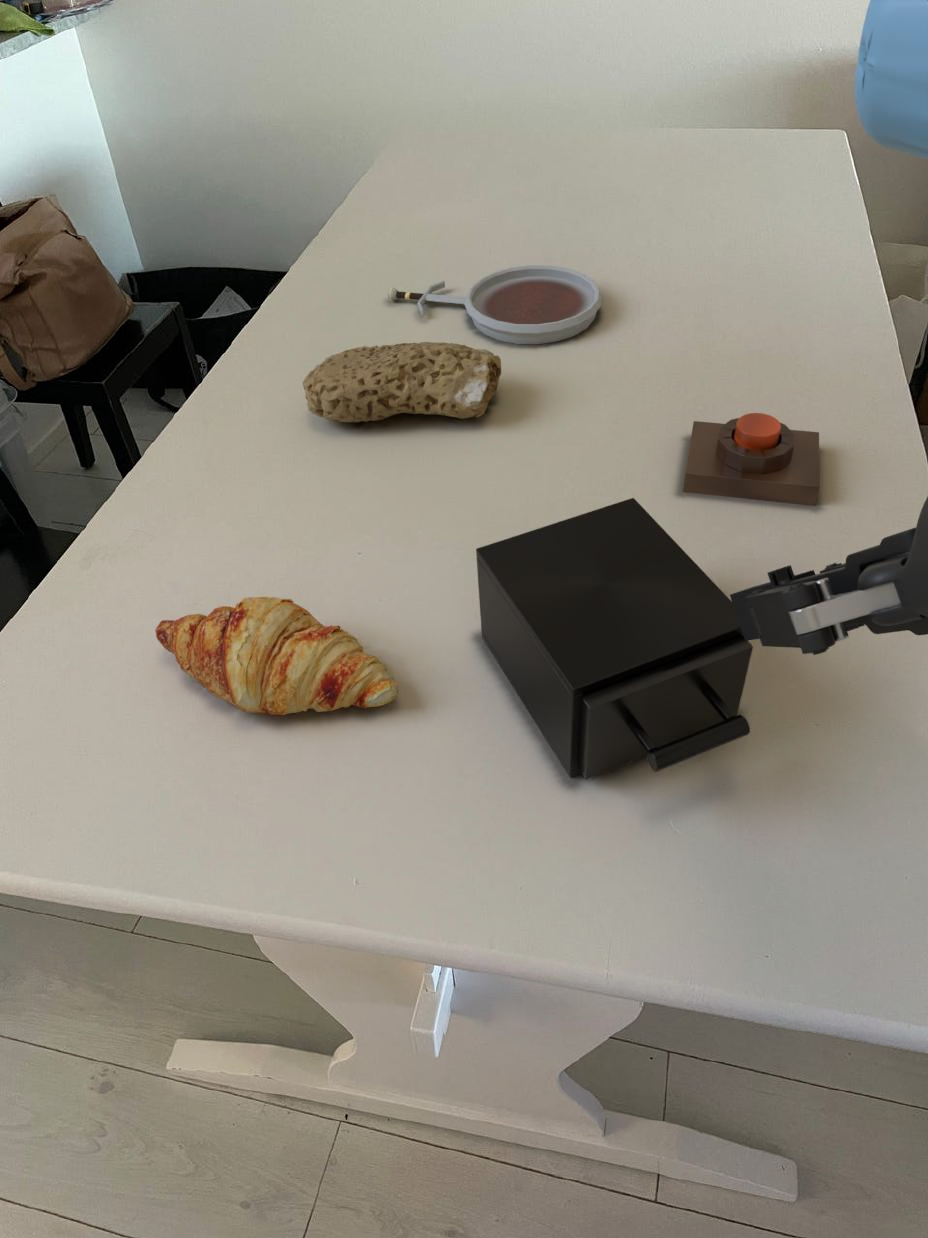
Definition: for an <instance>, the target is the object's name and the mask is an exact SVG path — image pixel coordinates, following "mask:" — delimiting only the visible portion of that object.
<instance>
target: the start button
mask: <svg viewBox="0 0 928 1238" xmlns="http://www.w3.org/2000/svg"><path fill="white" fill-rule="evenodd" d="M738 418H739V419H738V421H737V424H736V430H735V435H734V440H735V443H736V444H737V445H739V446H742V447H744V448H746V449H749V450H759V451H763V450H768V449H773V448H774V447H775V446H776V445H777V443H778V439H779V434H780V430H781V424H780V423H781V422H780V421H779V419H777V418H776V417H774V416H773V415H770V414H766V413H763V412H762V413H761V412H751V413H746V414H743V415H741V416H740V417H738Z"/></svg>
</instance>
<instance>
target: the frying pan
mask: <svg viewBox="0 0 928 1238" xmlns="http://www.w3.org/2000/svg"><path fill="white" fill-rule="evenodd" d="M445 281H446V280H442V281H439V282H437V283H434V284H432V285H429V286H428V287H427V289H426V290H425V292H424V293H421V292H420V293H419V292H411V291H399V290H398V288H396V287H393V286H392V287H391V288H389V289H388V290H387V293H386V296H387V298H388V299H389V300H390V301H391V302H395V301H396V300H398V299H402V300H403V299H404V300H409V301H410V300H415V301H417V309H418V311H419V313H420V315H421V316H422V317H424V316H425V315H426V314H425V309H424V307H423V305H424V304H425V303H426V302H432V303H433V302H434V303H447V304H457V305H464V307H465V310H466V313H467V314H468V316H469V317H471V319H472V322H473V324H474V327H475V328H476V329H478V331H480V332H481V333H482V334H483V335H485V336H487V337H490V338H493V339H495V340H497V341H501V342H505V343H509V344H511V343H512V344H516V345H542V344H548V343H556V342H559V341H563V340H566V339H569V338H572V337H575V336H577V335H579V334H580V333H582V332H583V331H585V330H587V329H588V328H589V327H590V325H591V324H592V323H593V322H594V321H595V318H596V316H597V313H598V312H597V311H599V309H600V308H601V307H602V305H603V304H602V303H603V294H602V292H601V290H600V288H599V287H598V285H597V283H596V281H595V280H593V279H592V278H590V277H589V276H587V275H586V274H585V273H583V272H581V271H577V270H574V269H571V268H569V267H562V266H555V265H548V264H547V265H546V264H545V265H544V264H541V265H540V264H528V265H521V266H513V267H508V268H505V269H502V270H501V269H500V270H498V271H494V272H491V273H490V274H488V275H486V276H483V277H482V278H480V279H477V281H476V282H475V283H474V284H473V285H472V286H471V287H470V288H469V289H468V292H467V294H466V296H459V295H458V296H456V295H446V294H435V293H434V292H437V291H439V290H443V289H444V288H446V282H445ZM433 293H434V294H433Z"/></svg>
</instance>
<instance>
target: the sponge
mask: <svg viewBox="0 0 928 1238" xmlns="http://www.w3.org/2000/svg"><path fill="white" fill-rule="evenodd" d="M501 375H502V359H501V357H500V355H495V354H494V353H493V352H491V351H490V350H487V349H485V348H484V349H483V348H480V349H479V348H473V347H470V346H467V345H465V344H459V343H453V342H451V343H449V342H430V341H422V342H403V343H402V342H401V343H396V344H383V345H380V346H378V345H377V344H376V345H373V346H367V345H364V346H358V347H354V348H350V349H346V350H343V351H341V352H339V353H335V354H332V355H330V356H328V357H326V358H325V359H324V360H323V361H322V362H321V363H319V364H316V366H315V367H314V368H313V369H312V370H310V372H308V374H307V375H306V376H305V378H304V379H303V381H302V387H303V390H304V392H305V395H304V398H305V399H306V400H307V401H306V405H307V409H308V411H309V412H310V413H312V414H314V415H315V416H317V417H319V418H325V419H326V420H327V421H328V422H341V423H360V422H369V421H373V422H376V421H383V420H384V419H387V418H390V417H393V416H396V415H398V414H402V413H403V414H413V415H418V414H423V415H440V416H445V417H446V416H447V417H451V418H452V417H453V418H458V419H461V420H463V419H469V418H473V417H475V418H476V419H478V418H479V417H481V416H483V415H484V414H485V412H486V411H487V408H488V406H489V402H490V400H491V399H492V398H493V397H494V396H495V394H496V392H497V391H498V386H499V384H500V383H499V382H500V377H501Z"/></svg>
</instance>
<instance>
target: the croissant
mask: <svg viewBox="0 0 928 1238" xmlns="http://www.w3.org/2000/svg"><path fill="white" fill-rule="evenodd" d="M154 631H155V637H156V639H157V641H158V642H159V643H160V645H161V646H162V647H163V648H164V649H165V650H166V651H168V652H170V653H172V654H173V655H174V658H175V660H176V662H177V664H178V665H179V668H180V670H181V671H182V672H183V673H185V674H187V675H188V676H189V677H190V678H191V679H192V680H195V681H197V683H199V684H200V685H201V686H202V687H203V688H205V689H207V691H208V693H209V694H211V695H213V696H214V697H216V698H218V699H220V700H223V701H225V702H227V703H230V704H231V705H233V706H234V707H236V708H237V709H238V710H241V711H243V712H246V713H260V714H266V715H270V716H285V715H288V714H295V713H301V712H307V711H308V710H309V709H310V710H314V711H315V712H317V713H318V712H319V713H321V712H332V711H334V710H338V709H341V708H345V709H346V708H349V707H351V705H352V706H355V707H360V708H362V709H367V708H374V707H381V706H385V705H387V704H389V703H391V702H392V701H394V700H395V699H397V697H398V695H399V685H398V683H397V682H395V681H394V680H393V679H394V678H393V676H392V675H391V674H390V673H388V668H387V667H386V666H385V665H384V664H383V663H382V661H381V660H380V659H379V658H378V657H376V656H375V655H374V656H373V655H372V656H371V655H370V654H368V653H367V652H365V650H364V648H363V646H362V645H361V643H360V642H359V641H358V639H357V638H356V637H355V636H354V635H352V634H349V632H348V631H346V630H344V629H343V628H342V627H341V626H340V625H329V626H328V625H327V626H325V625H323V624H322V623H321V622H320V621H318V619H316V618H315V616H313V614H311V612H309V610H307V609H306V608H305V607H303V606H301V605H299V604H297V603H295V602H294V601H293V600H292V599H291V598H280V597H276V596H255V597H254V596H253V597H251V596H249V597H244V598H243V599H242V600H241V601H240V602H237V604H236V605H235V607H232V606H227V605H226V606H225V605H224V606H223V605H222V606H219V607H216V608H214V609H213V610H212V611H211V612H210V613H209V614H208V615H204V614H201V613H195V614H187V615H184V616H182V617H180V618H178V619H176V620H169V619H164V620H161V621H160V622H159V623H158V624H157V626H156V628H155V630H154Z"/></svg>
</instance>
